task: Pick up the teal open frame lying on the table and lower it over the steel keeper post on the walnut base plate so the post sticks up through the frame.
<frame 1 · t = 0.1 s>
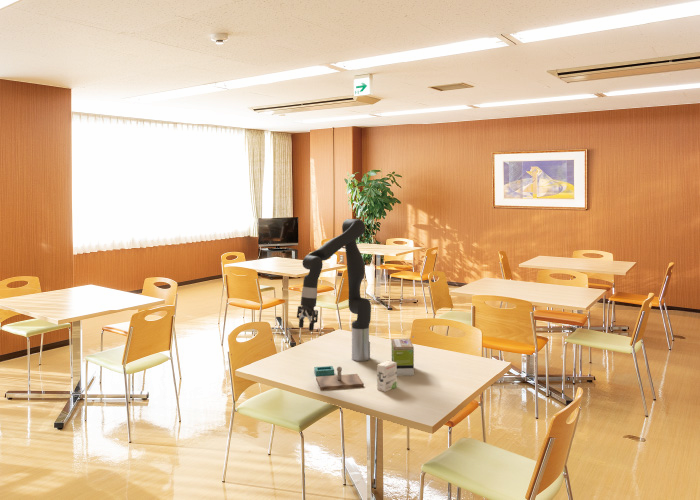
hand: (305, 329, 267), 22 cm above the table, tool pointing down, fingers open, 8 cm apart
tea box: (402, 371, 272), on the table
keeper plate: (339, 383, 255), on the table
ink box: (387, 388, 248), on the table
teal open frame: (324, 374, 268), on the table
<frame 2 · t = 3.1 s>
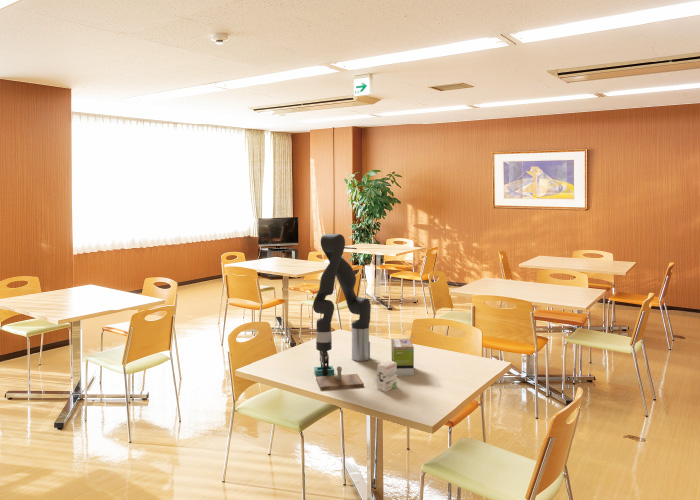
hand: (324, 373, 267), 1 cm above the table, tool pointing down, fingers closed on teal open frame, 6 cm apart
teal open frame: (324, 374, 268), on the table, touching gripper
everything else where it was.
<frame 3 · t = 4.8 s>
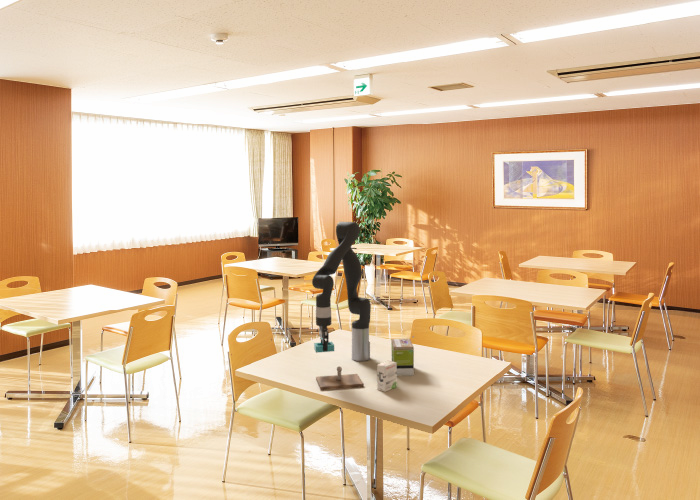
hand: (324, 348, 266), 13 cm above the table, tool pointing down, fingers closed on teal open frame, 6 cm apart
teal open frame: (324, 350, 266), point 12 cm above the table, touching gripper
everything else where it was.
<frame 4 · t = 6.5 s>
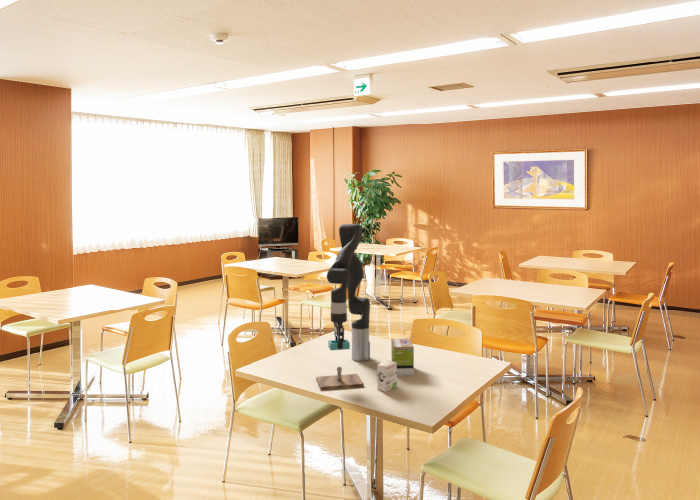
hand: (339, 346, 253), 17 cm above the table, tool pointing down, fingers closed on teal open frame, 6 cm apart
teal open frame: (338, 348, 253), point 17 cm above the table, touching gripper
everything else where it was.
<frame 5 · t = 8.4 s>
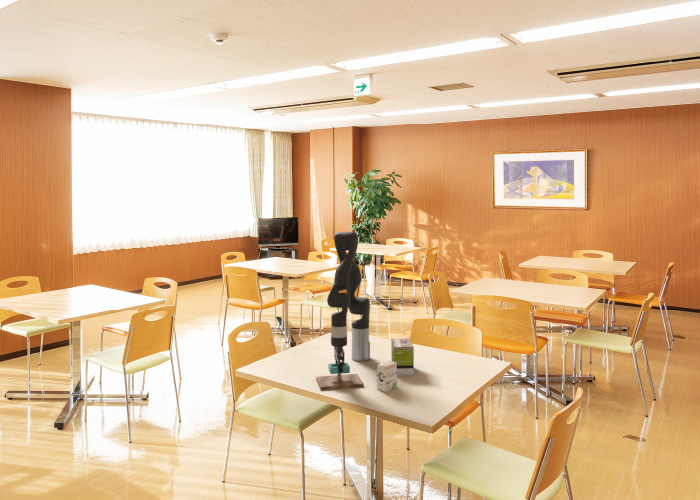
hand: (339, 370, 254), 6 cm above the table, tool pointing down, fingers closed on teal open frame, 6 cm apart
teal open frame: (339, 371, 254), point 6 cm above the table, touching gripper
everything else where it was.
when the fingers open (4 cm above the table, at t = 9.9 s): teal open frame drops 2 cm, resting on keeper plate.
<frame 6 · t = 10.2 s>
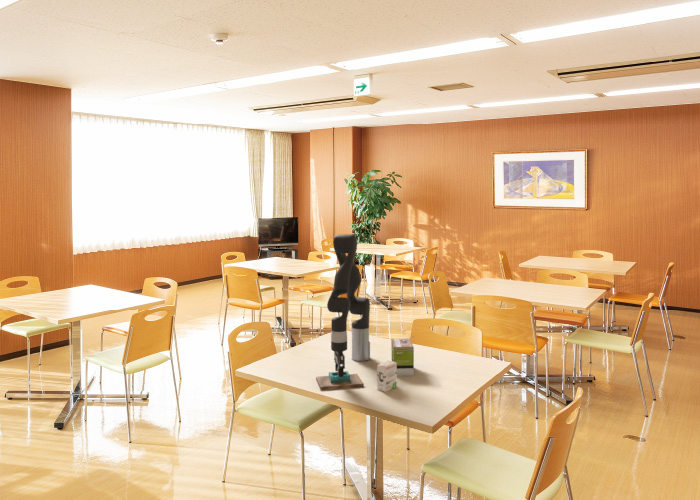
hand: (339, 373, 254), 5 cm above the table, tool pointing down, fingers open, 8 cm apart
teal open frame: (339, 380, 255), point 1 cm above the table, touching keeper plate
everything else where it was.
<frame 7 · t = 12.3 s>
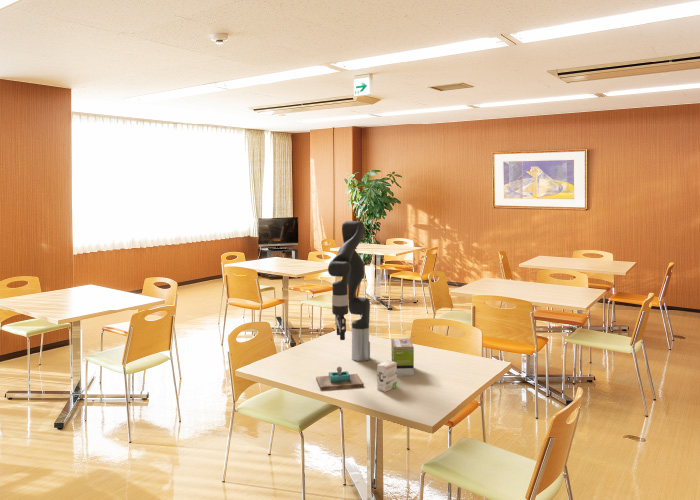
hand: (340, 337, 257), 21 cm above the table, tool pointing down, fingers open, 8 cm apart
nothing on the table moved.
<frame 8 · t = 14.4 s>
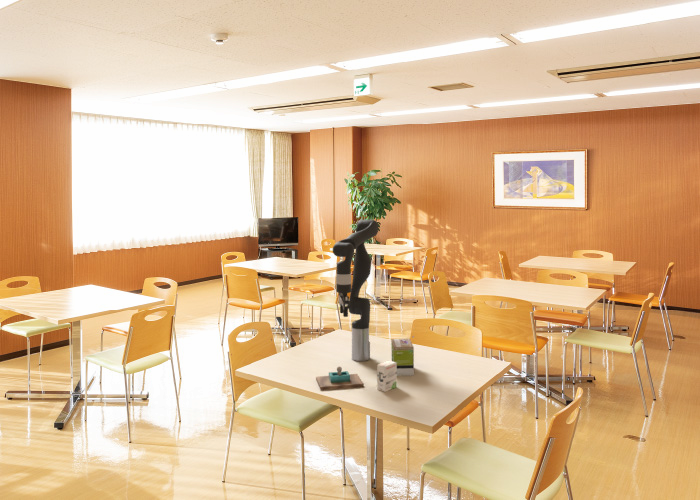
hand: (343, 314, 272), 28 cm above the table, tool pointing down, fingers open, 8 cm apart
nothing on the table moved.
at the end: teal open frame 0.0 cm off-centre on the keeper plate, point 1.5 cm above the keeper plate's base; the gripper is holding nothing; teal open frame tilted 0° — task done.
